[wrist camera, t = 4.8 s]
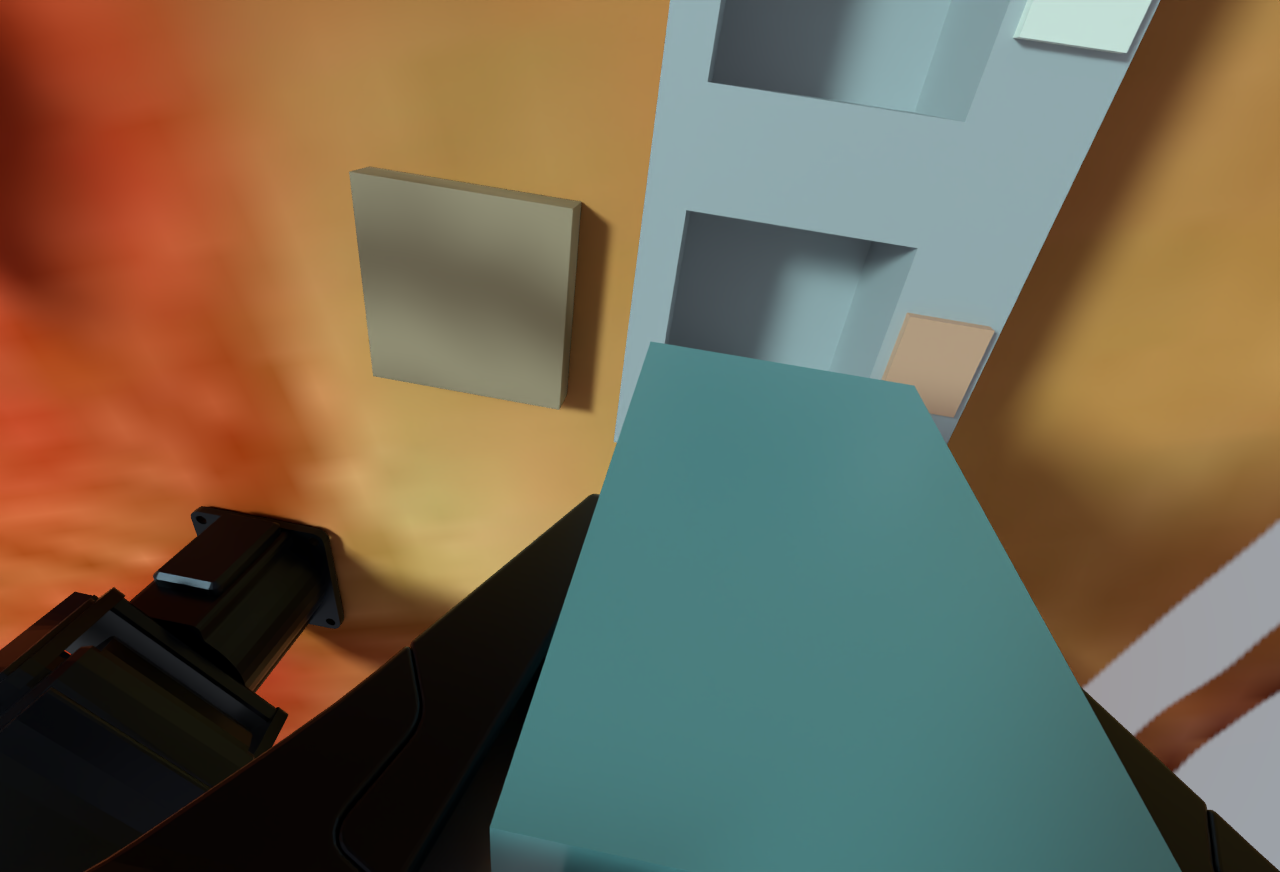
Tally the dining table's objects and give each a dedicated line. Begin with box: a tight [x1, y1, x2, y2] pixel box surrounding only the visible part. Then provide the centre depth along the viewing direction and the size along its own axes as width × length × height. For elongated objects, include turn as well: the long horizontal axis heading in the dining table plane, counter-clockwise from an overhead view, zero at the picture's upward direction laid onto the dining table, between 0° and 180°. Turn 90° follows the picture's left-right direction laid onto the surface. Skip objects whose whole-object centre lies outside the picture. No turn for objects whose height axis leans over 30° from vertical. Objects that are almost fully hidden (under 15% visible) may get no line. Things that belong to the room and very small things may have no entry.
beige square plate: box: [349, 167, 581, 410], centre depth 20 cm, size 7×7×1 cm
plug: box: [490, 342, 1182, 872], centre depth 7 cm, size 4×4×7 cm
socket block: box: [614, 0, 1160, 444], centre depth 15 cm, size 16×9×5 cm, turn 173°
